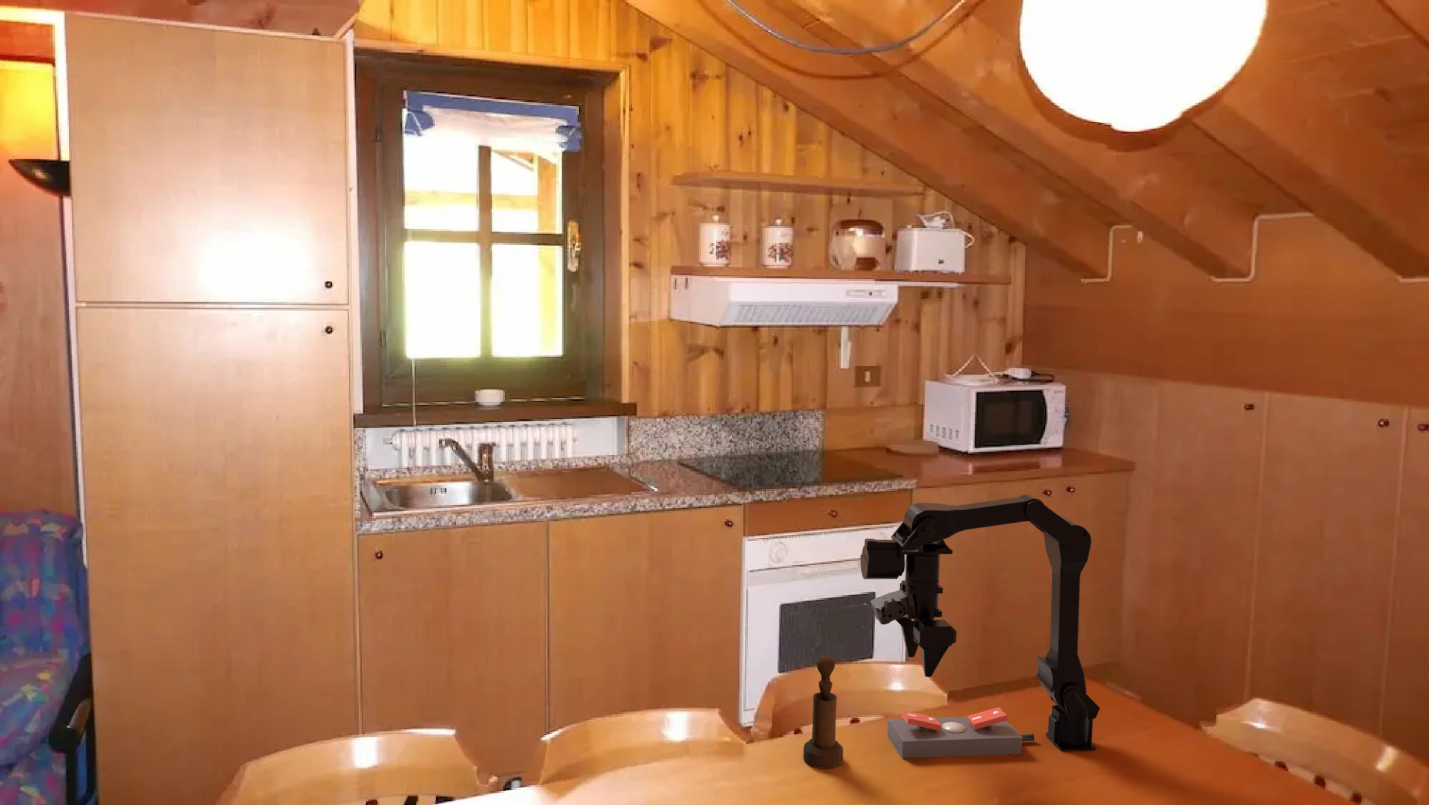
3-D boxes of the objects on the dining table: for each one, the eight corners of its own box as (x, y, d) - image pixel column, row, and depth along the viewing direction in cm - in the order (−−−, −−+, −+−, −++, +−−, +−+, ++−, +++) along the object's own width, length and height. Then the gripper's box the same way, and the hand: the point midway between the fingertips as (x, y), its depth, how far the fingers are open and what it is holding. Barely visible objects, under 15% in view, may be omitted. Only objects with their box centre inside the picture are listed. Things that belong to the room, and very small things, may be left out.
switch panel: (1022, 730, 183) (1023, 711, 183) (1043, 753, 175) (1044, 733, 174) (887, 735, 181) (888, 715, 180) (902, 758, 172) (902, 738, 171)
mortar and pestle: (842, 752, 174) (845, 650, 172) (843, 770, 167) (846, 664, 165) (803, 750, 174) (806, 648, 172) (802, 767, 168) (805, 662, 166)
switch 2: (1000, 712, 180) (998, 706, 179) (1007, 720, 176) (1006, 714, 176) (967, 721, 179) (966, 715, 179) (974, 729, 176) (973, 723, 176)
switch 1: (933, 722, 178) (935, 716, 178) (939, 730, 175) (941, 725, 175) (901, 715, 178) (903, 709, 177) (907, 723, 174) (908, 717, 174)
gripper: (861, 564, 182) (859, 649, 184) (892, 595, 163) (889, 689, 165) (922, 563, 183) (919, 647, 185) (959, 594, 165) (955, 686, 166)
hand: (919, 666), depth 175 cm, fingers open, 9 cm apart
